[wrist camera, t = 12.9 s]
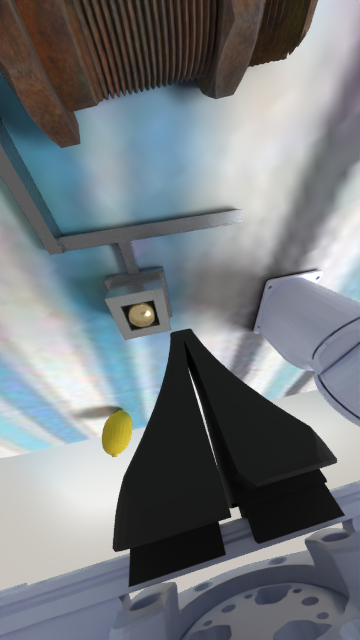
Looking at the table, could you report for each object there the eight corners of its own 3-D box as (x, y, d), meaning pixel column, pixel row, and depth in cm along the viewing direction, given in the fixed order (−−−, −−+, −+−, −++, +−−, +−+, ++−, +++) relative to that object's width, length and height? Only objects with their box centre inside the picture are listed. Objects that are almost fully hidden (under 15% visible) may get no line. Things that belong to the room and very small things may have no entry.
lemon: (115, 401, 30) (108, 451, 24) (138, 405, 33) (137, 451, 27) (101, 413, 32) (91, 462, 26) (124, 416, 35) (119, 461, 29)
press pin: (155, 309, 17) (156, 323, 15) (134, 313, 17) (133, 328, 15) (150, 291, 16) (151, 304, 14) (127, 295, 15) (124, 309, 13)
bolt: (258, 73, 11) (55, 121, 10) (309, -157, 6) (-60, -100, 5) (306, 100, 9) (53, 162, 8) (440, -224, 4) (-139, -142, 3)
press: (228, 299, 20) (244, 317, 17) (102, 325, 19) (93, 350, 16) (265, -70, 7) (366, -301, 4) (-129, -69, 6) (-472, -417, 3)
